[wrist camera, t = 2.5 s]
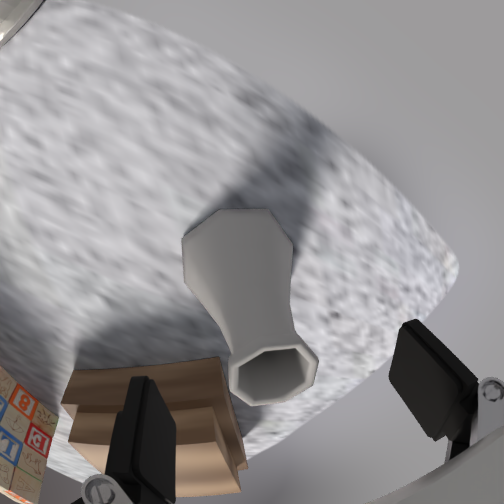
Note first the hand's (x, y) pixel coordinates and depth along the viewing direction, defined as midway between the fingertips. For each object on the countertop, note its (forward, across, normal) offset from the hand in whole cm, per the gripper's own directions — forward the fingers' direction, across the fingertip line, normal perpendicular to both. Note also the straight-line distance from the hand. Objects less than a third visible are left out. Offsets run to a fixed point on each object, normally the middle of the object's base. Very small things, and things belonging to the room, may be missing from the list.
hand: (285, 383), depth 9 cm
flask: (+10, +1, -1) cm, 10 cm away
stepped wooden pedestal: (+10, +10, +13) cm, 19 cm away
